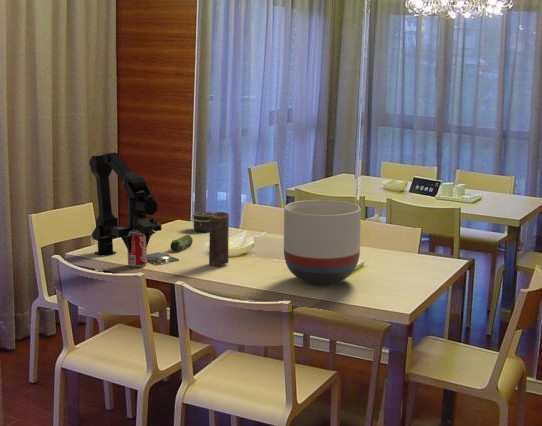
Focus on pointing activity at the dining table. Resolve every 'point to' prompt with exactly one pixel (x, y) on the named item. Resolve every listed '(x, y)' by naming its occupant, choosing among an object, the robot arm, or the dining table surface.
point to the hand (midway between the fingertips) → (137, 251)
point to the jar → (202, 222)
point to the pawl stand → (160, 258)
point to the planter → (322, 240)
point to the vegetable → (181, 243)
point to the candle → (219, 238)
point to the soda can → (137, 250)
